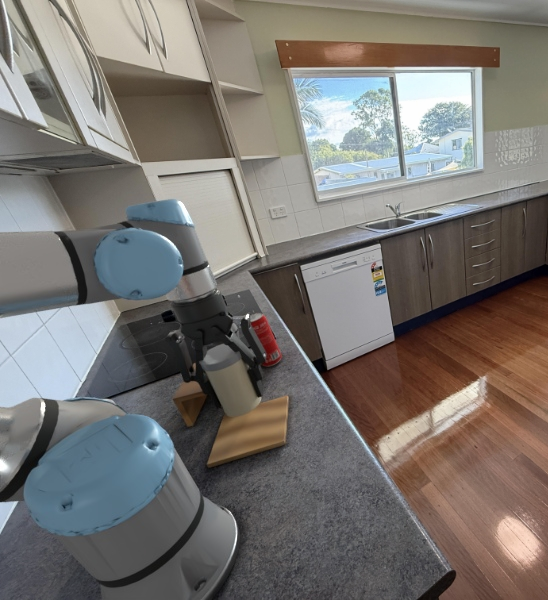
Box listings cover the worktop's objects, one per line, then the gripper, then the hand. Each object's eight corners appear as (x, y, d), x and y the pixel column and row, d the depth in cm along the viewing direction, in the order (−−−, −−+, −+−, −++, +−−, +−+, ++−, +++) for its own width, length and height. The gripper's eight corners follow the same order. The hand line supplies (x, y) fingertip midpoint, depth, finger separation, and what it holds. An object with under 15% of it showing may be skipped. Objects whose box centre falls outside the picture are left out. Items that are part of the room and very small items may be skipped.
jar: (260, 411, 61) (237, 357, 56) (219, 422, 59) (192, 369, 54) (264, 387, 67) (245, 338, 62) (228, 397, 66) (205, 347, 61)
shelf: (244, 411, 72) (232, 383, 68) (187, 427, 69) (172, 399, 66) (253, 375, 84) (243, 350, 81) (205, 388, 82) (193, 363, 79)
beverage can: (285, 354, 92) (270, 309, 86) (275, 368, 86) (258, 320, 80) (266, 355, 93) (250, 311, 87) (255, 369, 87) (237, 322, 81)
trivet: (285, 444, 61) (284, 440, 61) (208, 468, 58) (206, 464, 58) (289, 398, 74) (287, 395, 73) (226, 416, 71) (224, 412, 70)
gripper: (258, 275, 59) (292, 374, 68) (140, 299, 55) (193, 400, 64) (252, 288, 52) (290, 396, 61) (117, 317, 48) (180, 427, 57)
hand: (240, 398), depth 63 cm, fingers closed on jar, 7 cm apart
